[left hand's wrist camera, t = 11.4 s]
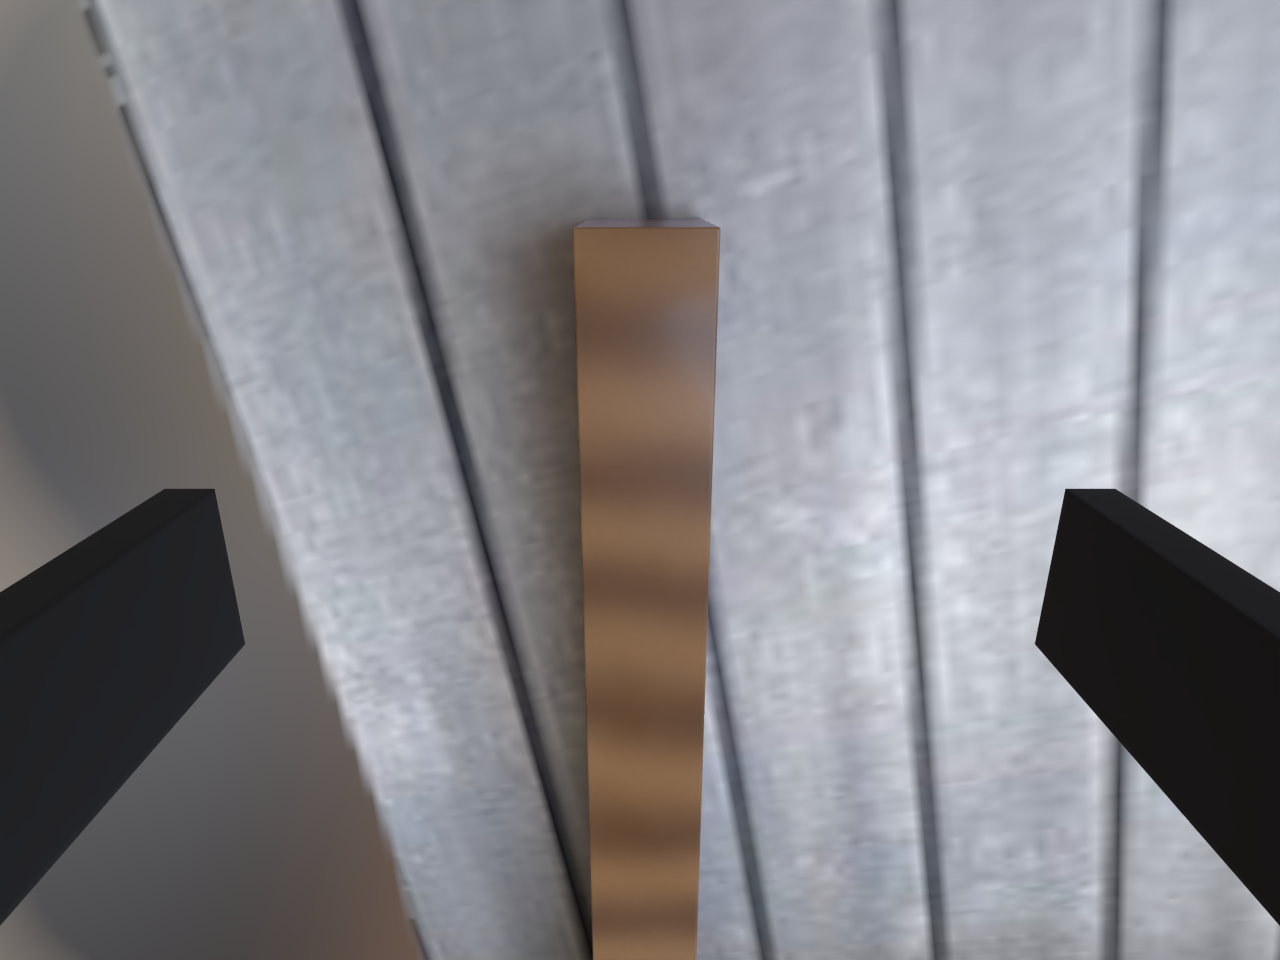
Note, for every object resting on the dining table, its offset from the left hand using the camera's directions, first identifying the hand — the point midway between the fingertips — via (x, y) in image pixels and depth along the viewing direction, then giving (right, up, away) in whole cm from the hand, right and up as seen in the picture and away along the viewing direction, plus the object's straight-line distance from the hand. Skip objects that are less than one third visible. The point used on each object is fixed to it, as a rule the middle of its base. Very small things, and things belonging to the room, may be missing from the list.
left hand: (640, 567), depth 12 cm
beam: (0, -16, +32) cm, 36 cm away
